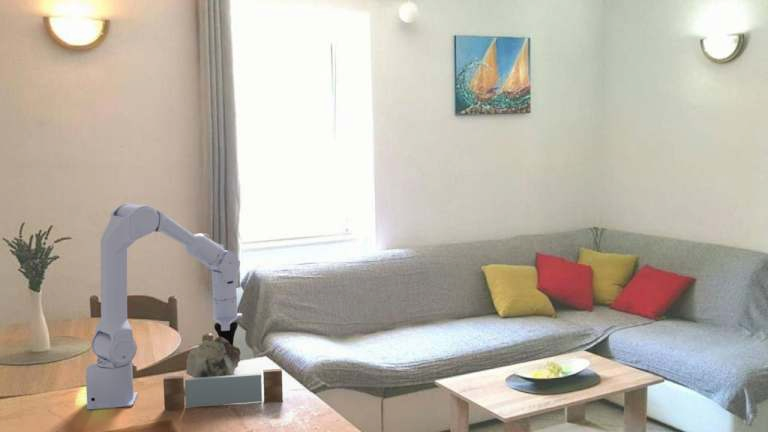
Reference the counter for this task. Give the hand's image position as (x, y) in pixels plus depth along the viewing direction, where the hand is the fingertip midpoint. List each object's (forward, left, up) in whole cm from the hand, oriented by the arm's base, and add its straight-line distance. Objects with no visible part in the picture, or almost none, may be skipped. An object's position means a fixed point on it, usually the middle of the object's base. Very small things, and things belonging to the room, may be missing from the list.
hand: (227, 351), depth 178 cm
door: (0, -23, -5) cm, 24 cm away
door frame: (0, -23, -5) cm, 24 cm away
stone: (-1, -11, 0) cm, 11 cm away
